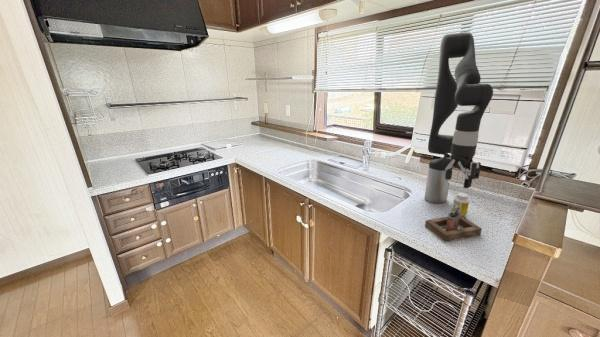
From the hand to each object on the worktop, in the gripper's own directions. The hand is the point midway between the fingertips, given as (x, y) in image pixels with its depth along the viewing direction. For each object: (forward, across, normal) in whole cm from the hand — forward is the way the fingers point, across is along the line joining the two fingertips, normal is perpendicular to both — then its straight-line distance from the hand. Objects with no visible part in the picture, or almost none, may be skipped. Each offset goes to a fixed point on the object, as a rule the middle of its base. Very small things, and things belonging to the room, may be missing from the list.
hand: (456, 183), depth 93 cm
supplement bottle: (+20, -7, +12) cm, 25 cm away
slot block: (+20, +2, 0) cm, 20 cm away
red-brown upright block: (+20, +2, 0) cm, 20 cm away
